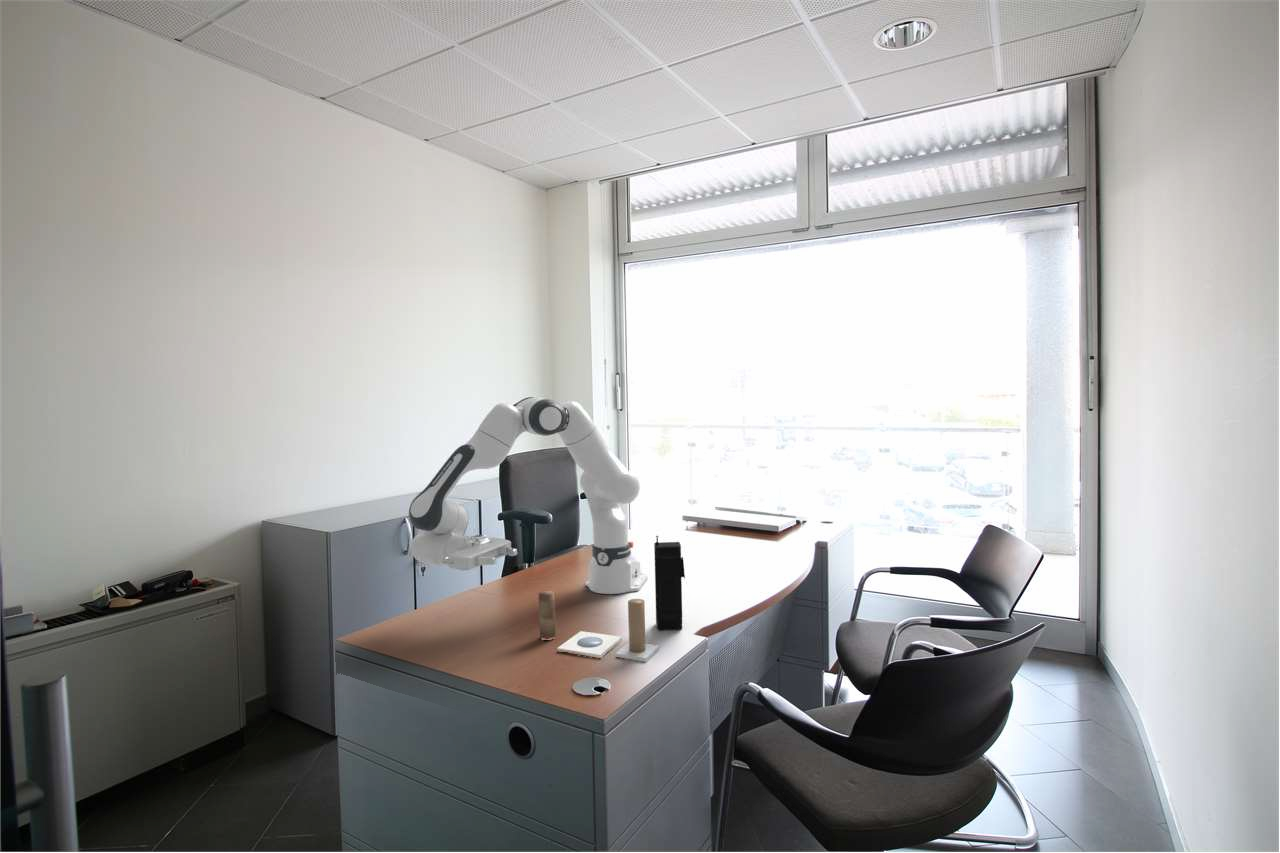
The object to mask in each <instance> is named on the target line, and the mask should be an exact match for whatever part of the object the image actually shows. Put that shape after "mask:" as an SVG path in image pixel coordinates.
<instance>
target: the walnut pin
mask: <svg viewBox="0 0 1280 853" xmlns="http://www.w3.org/2000/svg"><path fill="white" fill-rule="evenodd" d="M555 610H556V609H555V592H554V591H553V590H542V591H540V592H538V612H539V613H538V614H539V616H538V617H539V638H540V637H541V638H545V639H549V638H553V637H555V636H556V637H557V635H556V611H555Z"/></svg>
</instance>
